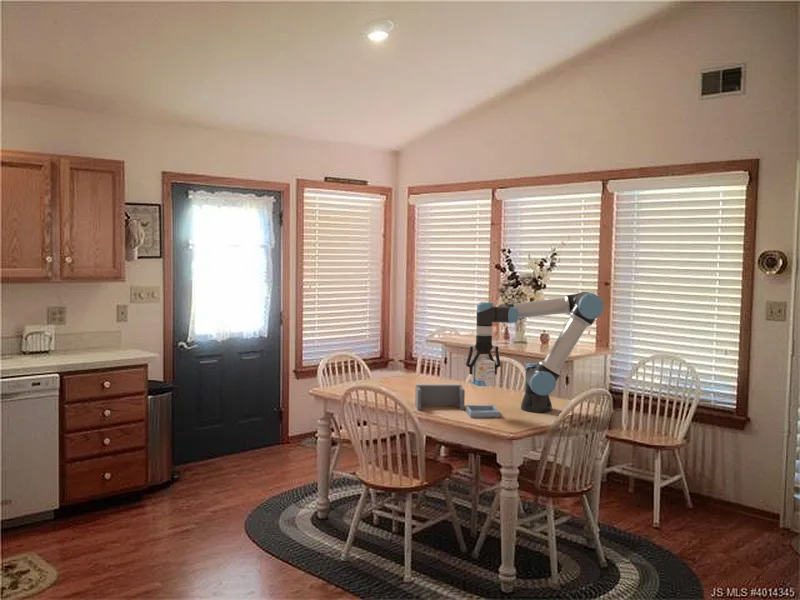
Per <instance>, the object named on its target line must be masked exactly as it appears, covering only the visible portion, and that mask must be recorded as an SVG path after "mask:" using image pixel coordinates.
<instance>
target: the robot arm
mask: <svg viewBox="0 0 800 600" xmlns="http://www.w3.org/2000/svg"><path fill="white" fill-rule="evenodd" d="M604 306H605V305H604V302H603V300H602V298H601V297H600V296H599V295H598V294H595V293H594V292H589V291H581V292H578V293H574V294H572V293H571V294H567V295H565V296H564V297H560V298H549V299H540V300H534V301H526V302H518V303H517V302H516V303H508V304H504V303H503V304H502V303H501V304H499V305H497V306H494V303H493V302H488V301H487V302H486V301H482V302H481V301H480V302H477V304H476V327H475V330H476V331H475V332H476V336H475V345H469V347H468V348H469V349H468V355H467V359H466V361H465V366H466V367H467V368H469V375H471V376H470V377H471V379H470V380H471V383H472V382H474V368H473V366H474V364H475V362H476V360H477V358H478V357H479V356H480V355H487V356H489V358H490V360H491V361H494V362H495V373H494V383H495V380H496V378H495V376H496V375H497V374H498V368H500V367H502V363H501V360H500V359H501V358H500V356H499V346H497V345H493V335H492V334H493V323H503V324H506V323H507V324H514V323H515V324H516V323H518V321H519V319H524V318H532V317H533V318H534V317H543V316H551V315H560V314H566V315H567V316H568V315H569V317H570V318H569V319H568V321H567V323H565V325H564V327H563V329H562V331H561V332H560V334H559V335H558V336H557V339H556V340H555V342H554V343H553V345H552V347H551V348H550V350H549V352H547V355H546V356H545V358H544V359H542V360H540V361H538V363H537V362H536V363H534V362H531V363H530V362H529V363H526V364H525V369H524V370H525V375H524V376H525V378H524V380H525V381H524V382H525V383H524V395H523V398H522V401H521V403H520V409H521V410H523V411H525V412H526V411H527V412H530V413H549V412H552V411H553V406H552V405H553V404H552V401H551V397H550V394H551V393H553V392H554V390H555V388H556V385H557V381H558V379H559V378H560V376H561V369H562V367H563V365H564V364H565V363H566V361H567V359H568V358H569V356H570V354H571V352H572V351H573V349H574V348H575V346H576V344H577V343H578V341H579V340H580V338H581V337H582V336H583V333H584V332H585V330H586V329H587V328H588V327H590V326H592V325H593V324H594V323H595V320H596V319H598V318H599V317H600V316H601V315H602V313H603V312H604V308H605V307H604ZM475 350H476V352H475V354H474V356H473V351H475ZM492 350H493V351H494V354H495V359H496V361H495V359H494V357H493V355H492V352H491V351H492ZM472 356H473V359H472Z"/></svg>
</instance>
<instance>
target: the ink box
mask: <svg viewBox="0 0 800 600" xmlns="http://www.w3.org/2000/svg"><path fill="white" fill-rule="evenodd" d="M494 361H495V360H494ZM494 361H491V360H490V358H489V356H488V355H486V356H485V355H484V356H483V355H482V356H480V355H479V357H478V358H477V360H476V362H475V364H474V366H473V368H474V382H472V381H471V384H473V385H475V386H477V387H490V386H491V387H492V386H495V382H494V373H495V363H496V361H495V362H494Z"/></svg>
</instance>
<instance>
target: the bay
mask: <svg viewBox="0 0 800 600" xmlns="http://www.w3.org/2000/svg"><path fill="white" fill-rule="evenodd" d="M465 396H466V395H465V388H463V386H462V384H461V383H415V396H414V398H415V401H414V404H415V408H416V410H417V411H421V407H423V406H427V407H428V406H429V407H431V406H433V407H434V406H435V407H436V406H438V405H439V407H440V406H441V407H442V406H443V407H445V406H444V405H453V406H452V407H454V405H455V406H456V405H458V408H459V409H460V410H461V411H465Z"/></svg>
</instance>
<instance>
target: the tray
mask: <svg viewBox="0 0 800 600" xmlns="http://www.w3.org/2000/svg"><path fill="white" fill-rule="evenodd" d="M464 411H465V413H466V414H467V415H468V416H469V418H471V419H476V418H477V419H478V418H479V419H481V418H482V419H483V418H484V419H485V418H488V419H491V418H493V419H495V418H496V419H497V418H498V419H499V418H501V412H500V410H499V409H498V408H497V407H496V406H495V405H494V404H492V405H491V404H490V405H489V404H488V405H487V404H486V405H485V404H484V405H483V404H482V405H481V404H478V405H477V404H476V405H475V404H473V405H471V404H468V405H467V404H465V406H464Z"/></svg>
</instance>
